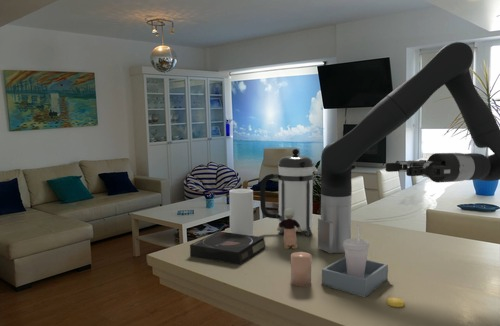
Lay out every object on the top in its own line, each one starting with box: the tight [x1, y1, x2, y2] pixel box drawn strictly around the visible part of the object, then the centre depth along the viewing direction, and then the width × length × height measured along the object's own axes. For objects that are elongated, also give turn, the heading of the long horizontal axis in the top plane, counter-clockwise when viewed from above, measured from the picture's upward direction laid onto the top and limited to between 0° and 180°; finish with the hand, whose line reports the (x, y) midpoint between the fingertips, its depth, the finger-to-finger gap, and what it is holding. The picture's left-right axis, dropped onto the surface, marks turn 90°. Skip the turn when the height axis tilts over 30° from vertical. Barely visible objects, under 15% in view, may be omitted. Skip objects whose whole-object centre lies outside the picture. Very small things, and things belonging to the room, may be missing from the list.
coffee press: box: [259, 148, 319, 237], centre depth 148 cm, size 17×16×30 cm
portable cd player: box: [189, 231, 266, 266], centre depth 127 cm, size 16×17×4 cm
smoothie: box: [343, 224, 370, 279], centre depth 102 cm, size 6×6×14 cm
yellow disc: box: [386, 297, 405, 308], centre depth 91 cm, size 4×4×1 cm
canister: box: [290, 251, 312, 287], centre depth 103 cm, size 5×5×7 cm
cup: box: [228, 188, 254, 236], centre depth 145 cm, size 8×8×16 cm
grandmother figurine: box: [276, 208, 303, 249], centre depth 131 cm, size 8×4×13 cm, turn 94°
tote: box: [321, 256, 389, 298], centre depth 103 cm, size 13×11×4 cm
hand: (396, 169), depth 103 cm, fingers open, 8 cm apart
